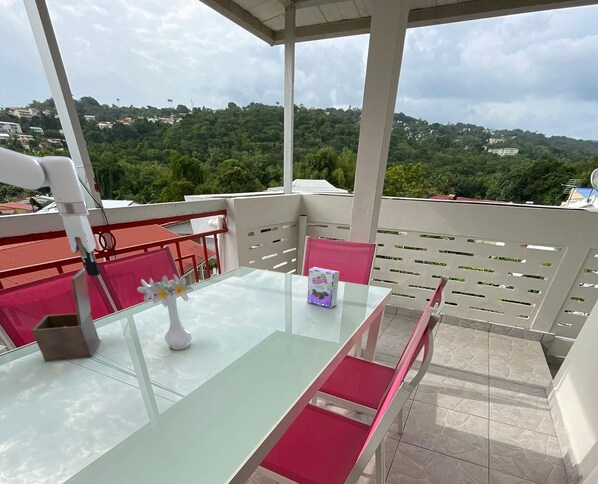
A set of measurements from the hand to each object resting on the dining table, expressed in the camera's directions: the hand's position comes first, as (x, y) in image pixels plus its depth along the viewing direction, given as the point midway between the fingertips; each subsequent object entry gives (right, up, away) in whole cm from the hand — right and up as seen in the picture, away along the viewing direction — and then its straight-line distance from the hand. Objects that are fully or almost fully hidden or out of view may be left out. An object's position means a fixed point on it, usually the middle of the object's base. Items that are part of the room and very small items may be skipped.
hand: (94, 274), depth 106 cm
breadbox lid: (-6, -6, +2) cm, 9 cm away
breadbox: (-14, -23, +11) cm, 29 cm away
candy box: (+77, +7, +59) cm, 97 cm away
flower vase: (+21, -21, +15) cm, 34 cm away
